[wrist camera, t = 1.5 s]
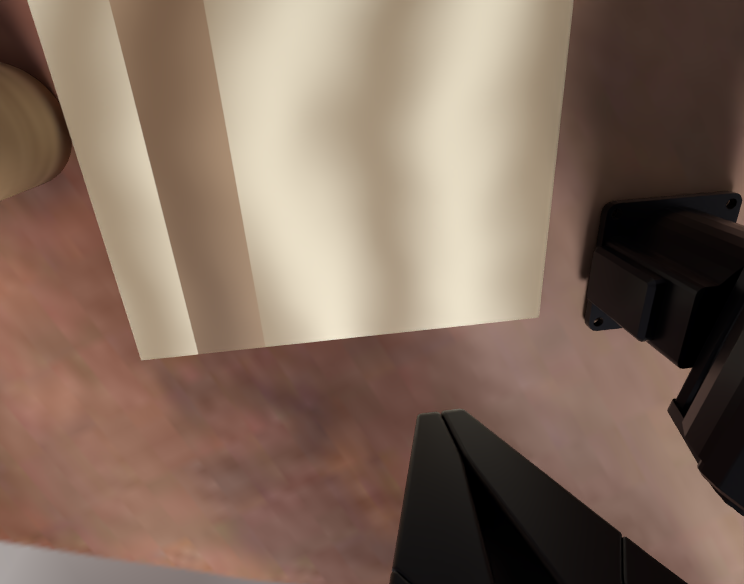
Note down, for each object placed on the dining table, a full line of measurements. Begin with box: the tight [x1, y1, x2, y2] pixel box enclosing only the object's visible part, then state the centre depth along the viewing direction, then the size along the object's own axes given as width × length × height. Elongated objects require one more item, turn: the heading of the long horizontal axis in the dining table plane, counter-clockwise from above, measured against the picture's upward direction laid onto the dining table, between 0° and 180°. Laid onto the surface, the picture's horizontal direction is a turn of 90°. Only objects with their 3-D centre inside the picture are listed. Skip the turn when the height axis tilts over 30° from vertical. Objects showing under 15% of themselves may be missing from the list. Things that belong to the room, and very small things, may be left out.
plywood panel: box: [28, 0, 574, 360], centre depth 17 cm, size 18×22×1 cm
